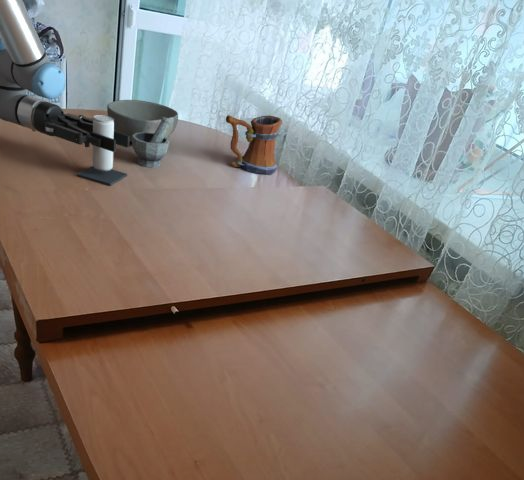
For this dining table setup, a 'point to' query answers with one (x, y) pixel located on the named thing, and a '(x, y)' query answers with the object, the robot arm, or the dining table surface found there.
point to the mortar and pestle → (152, 145)
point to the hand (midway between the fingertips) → (121, 143)
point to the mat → (102, 175)
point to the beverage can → (100, 155)
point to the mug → (256, 144)
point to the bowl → (140, 116)
